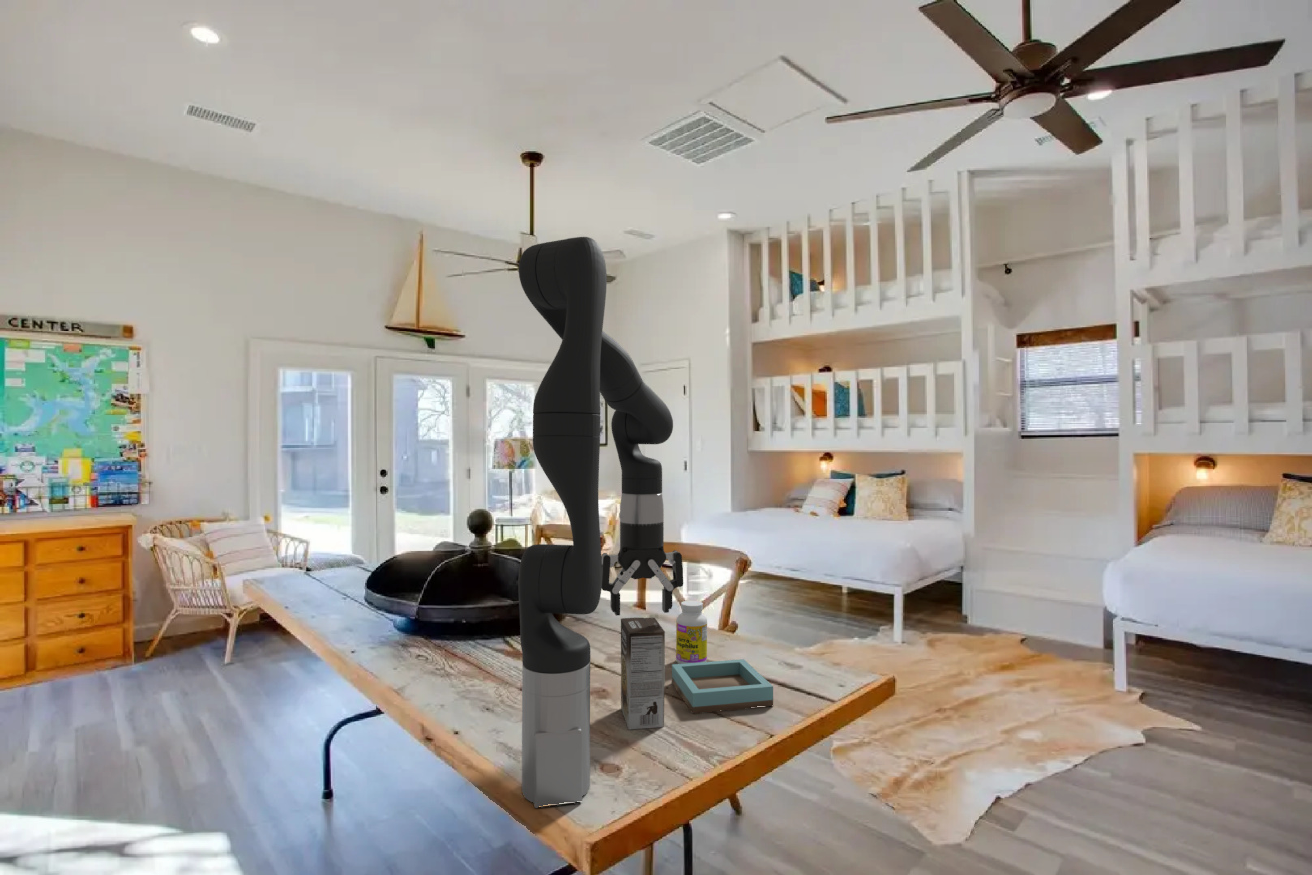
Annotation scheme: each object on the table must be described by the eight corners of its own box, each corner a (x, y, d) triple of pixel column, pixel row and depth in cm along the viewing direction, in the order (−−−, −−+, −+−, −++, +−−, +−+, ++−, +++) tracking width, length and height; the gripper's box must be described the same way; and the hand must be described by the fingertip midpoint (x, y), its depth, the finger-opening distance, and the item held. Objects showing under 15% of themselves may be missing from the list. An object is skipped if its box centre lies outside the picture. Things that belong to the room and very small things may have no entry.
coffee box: (619, 708, 116) (619, 617, 116) (655, 705, 117) (655, 615, 117) (627, 730, 107) (627, 632, 107) (665, 727, 108) (665, 630, 108)
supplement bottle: (670, 664, 139) (670, 604, 139) (684, 655, 144) (684, 597, 144) (699, 670, 135) (699, 608, 136) (711, 660, 141) (712, 601, 141)
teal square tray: (773, 706, 117) (773, 686, 117) (692, 713, 114) (692, 693, 114) (743, 676, 131) (743, 659, 131) (671, 682, 128) (671, 664, 128)
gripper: (604, 523, 107) (603, 621, 107) (687, 520, 110) (687, 616, 110) (597, 517, 114) (597, 609, 114) (676, 515, 117) (676, 605, 117)
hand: (641, 612), depth 112 cm, fingers open, 8 cm apart
